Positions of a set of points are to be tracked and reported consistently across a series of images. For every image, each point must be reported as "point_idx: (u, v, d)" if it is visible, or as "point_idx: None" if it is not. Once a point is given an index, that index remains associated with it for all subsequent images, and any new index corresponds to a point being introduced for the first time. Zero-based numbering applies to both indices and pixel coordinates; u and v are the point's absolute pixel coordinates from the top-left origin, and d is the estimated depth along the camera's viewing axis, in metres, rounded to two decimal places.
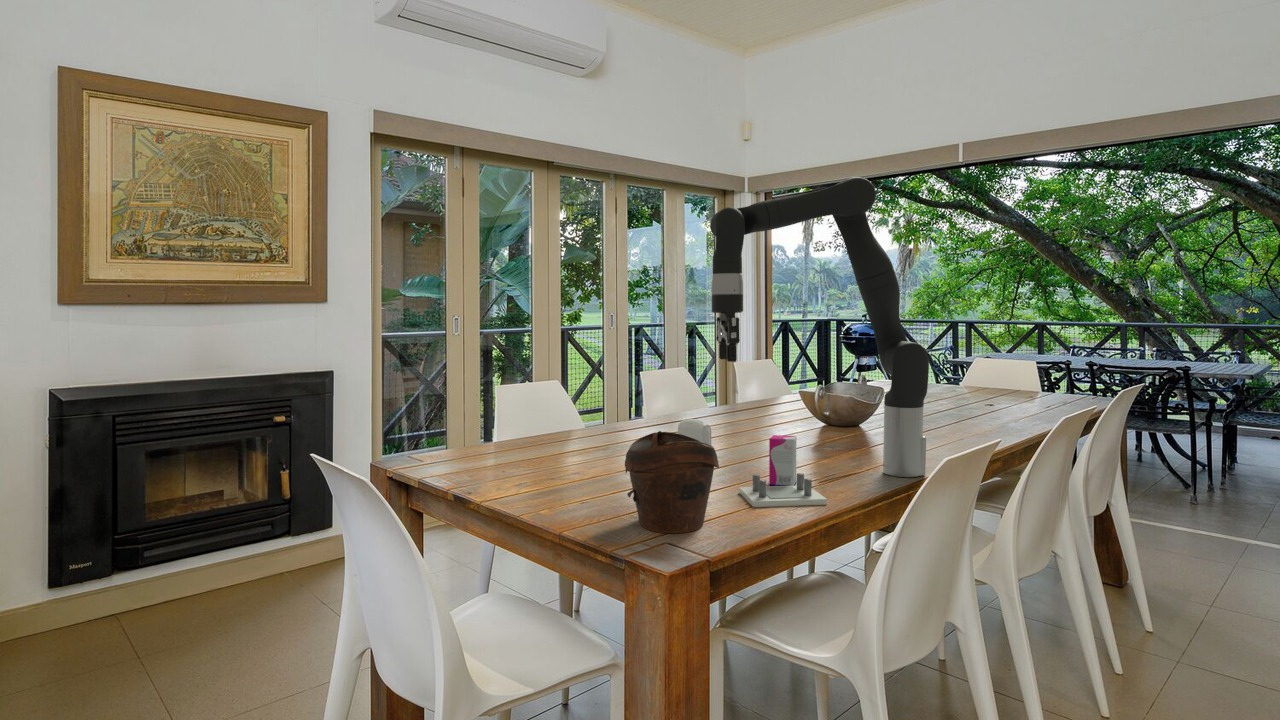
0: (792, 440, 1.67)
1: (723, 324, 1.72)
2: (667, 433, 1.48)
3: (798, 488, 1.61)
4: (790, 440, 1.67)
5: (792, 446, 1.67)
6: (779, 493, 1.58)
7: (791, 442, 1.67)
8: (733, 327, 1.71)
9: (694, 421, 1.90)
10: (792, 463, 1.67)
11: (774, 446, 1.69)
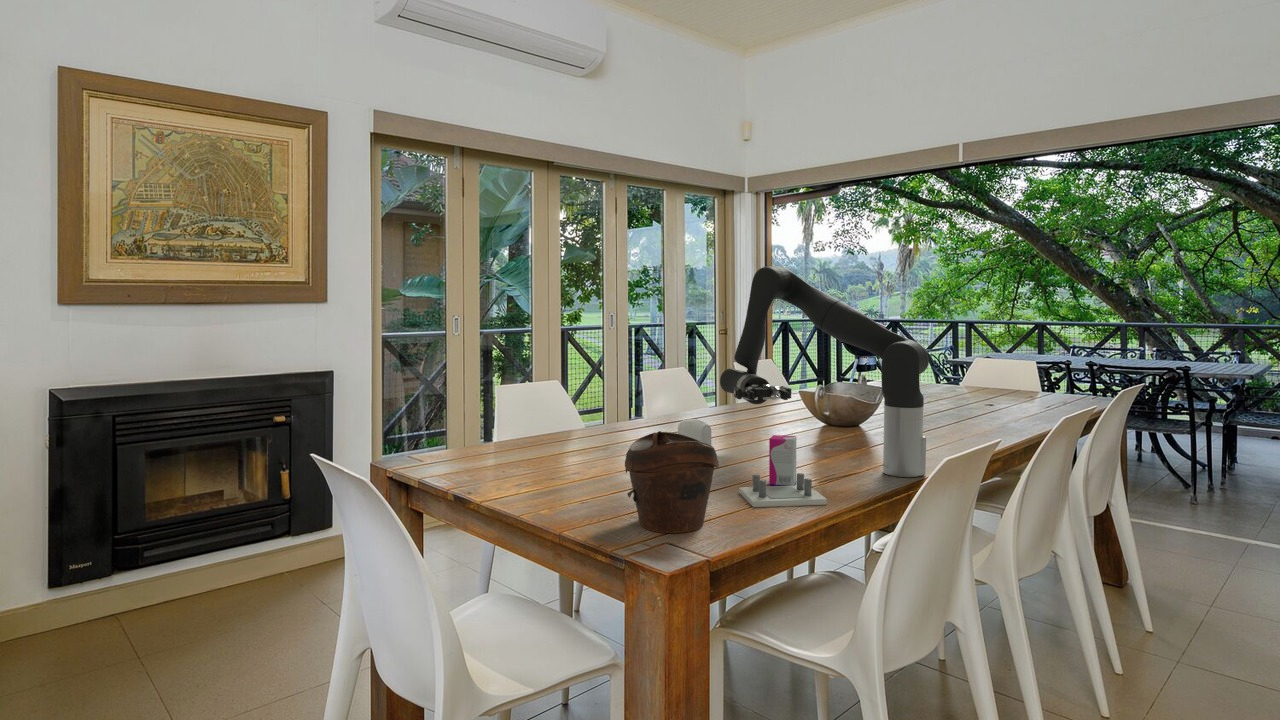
0: (792, 440, 1.67)
1: None
2: (667, 433, 1.48)
3: (798, 488, 1.61)
4: (790, 440, 1.67)
5: (792, 446, 1.67)
6: (779, 493, 1.58)
7: (791, 442, 1.67)
8: None
9: (694, 421, 1.90)
10: (792, 463, 1.67)
11: (774, 446, 1.69)
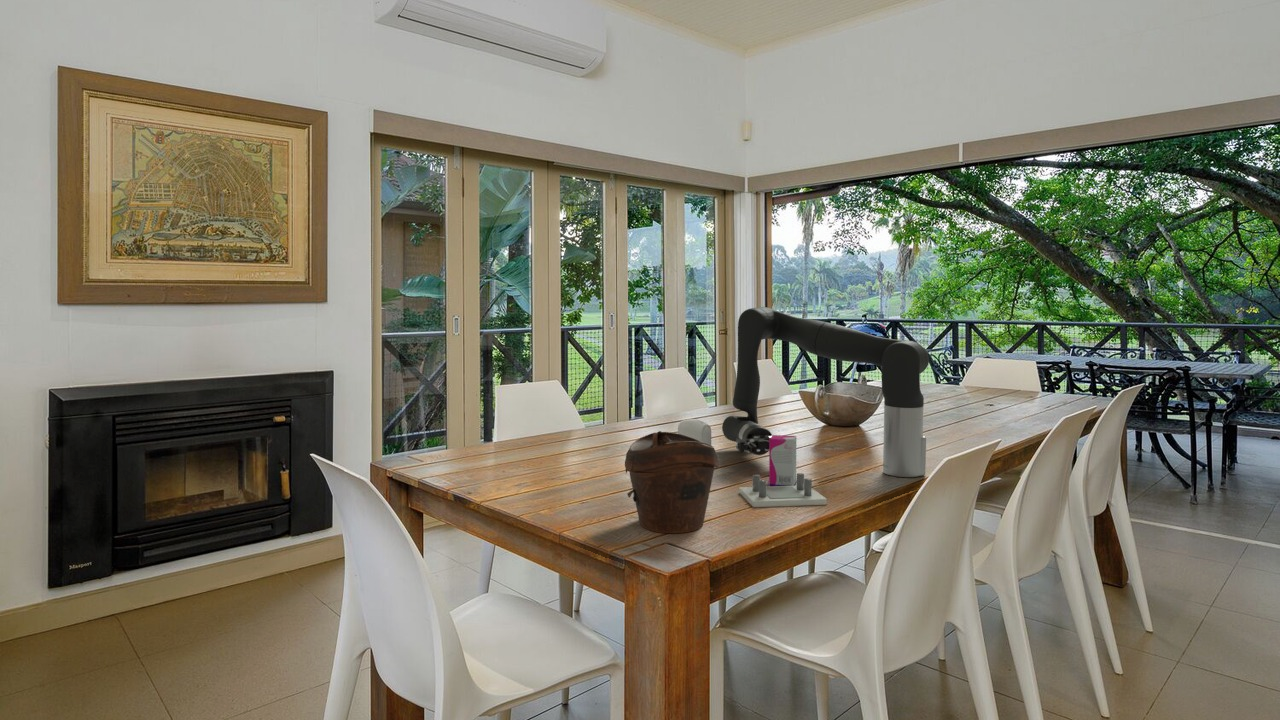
0: (792, 440, 1.67)
1: None
2: (667, 433, 1.48)
3: (798, 488, 1.61)
4: (790, 440, 1.67)
5: (792, 446, 1.67)
6: (779, 493, 1.58)
7: (791, 442, 1.67)
8: None
9: (694, 421, 1.90)
10: (792, 463, 1.67)
11: (774, 446, 1.69)
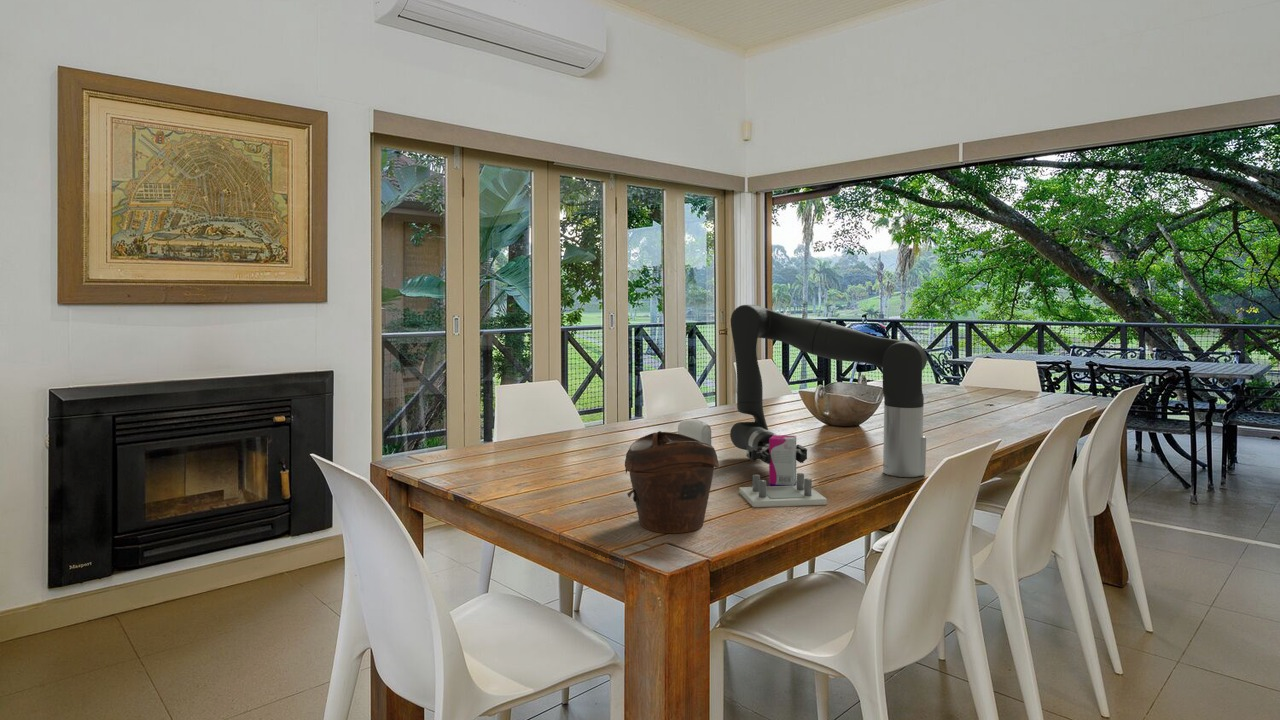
0: (792, 440, 1.67)
1: None
2: (667, 433, 1.48)
3: (798, 488, 1.61)
4: (790, 440, 1.67)
5: (792, 446, 1.67)
6: (779, 493, 1.58)
7: (791, 442, 1.67)
8: (762, 449, 1.76)
9: (694, 421, 1.90)
10: (792, 463, 1.67)
11: (774, 446, 1.69)
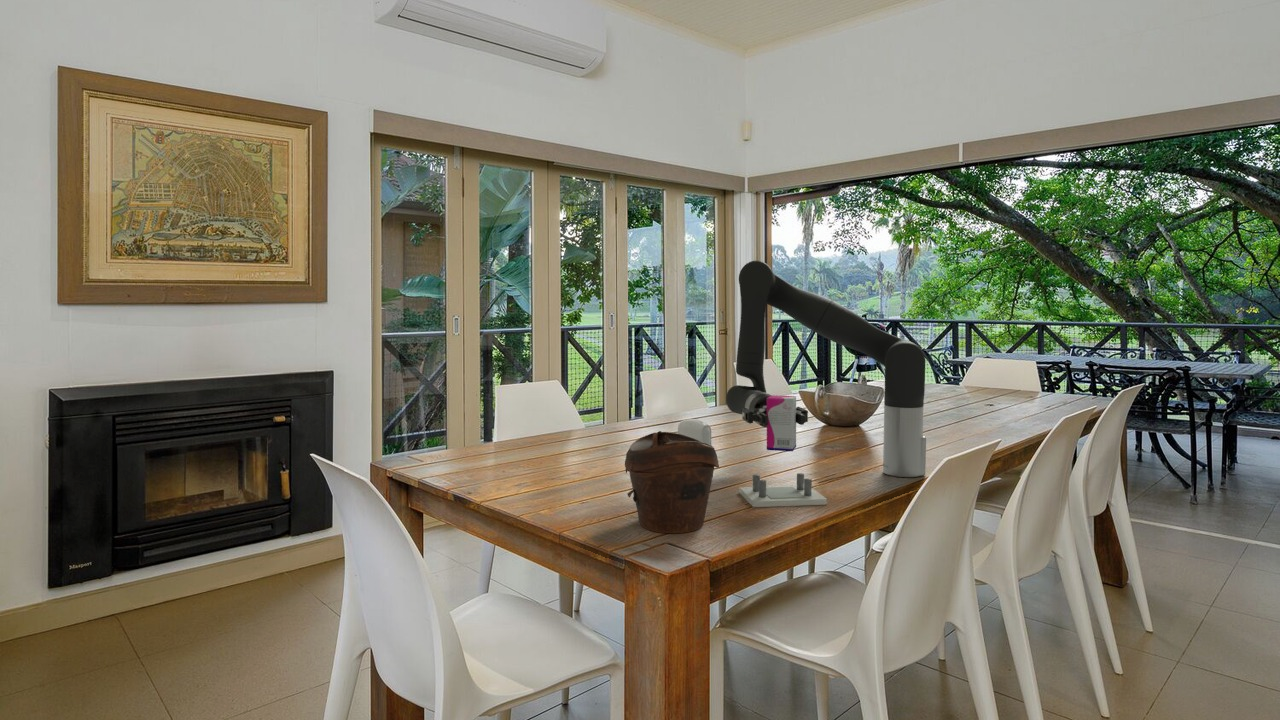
0: (791, 399, 1.54)
1: None
2: (667, 433, 1.48)
3: (798, 488, 1.61)
4: (789, 399, 1.54)
5: (791, 406, 1.54)
6: (779, 493, 1.58)
7: (790, 402, 1.54)
8: (759, 411, 1.63)
9: (694, 421, 1.90)
10: (791, 424, 1.54)
11: (772, 406, 1.56)
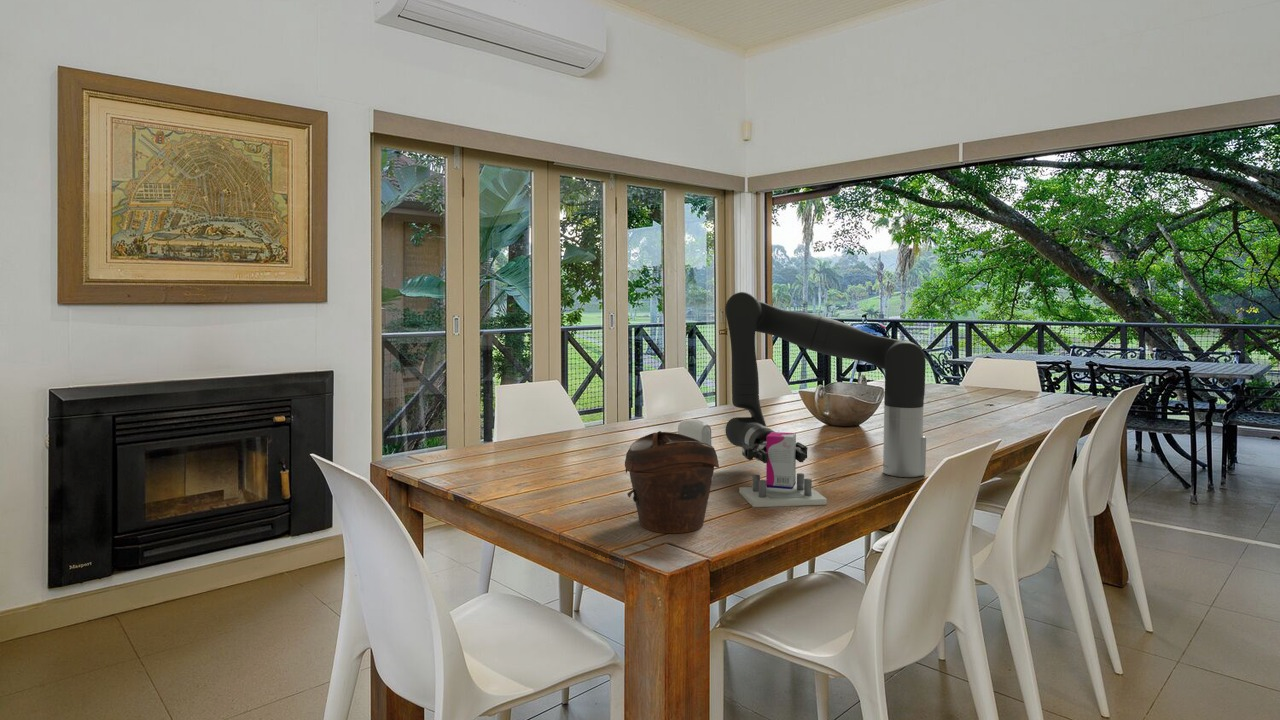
0: (791, 438, 1.55)
1: None
2: (667, 433, 1.48)
3: (798, 488, 1.61)
4: (789, 438, 1.55)
5: (791, 444, 1.55)
6: (779, 493, 1.58)
7: (790, 440, 1.55)
8: (759, 447, 1.64)
9: (694, 421, 1.90)
10: (791, 462, 1.55)
11: (772, 444, 1.56)
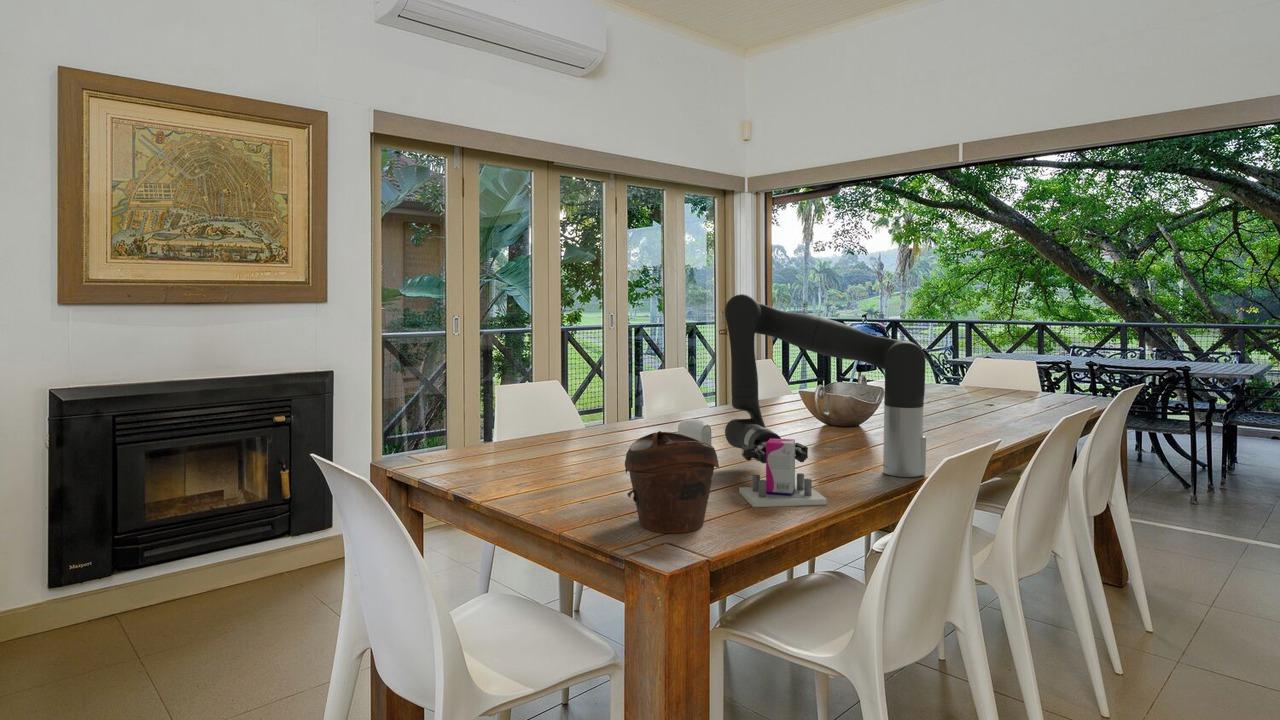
0: (791, 444, 1.55)
1: None
2: (667, 433, 1.48)
3: (798, 488, 1.61)
4: (788, 444, 1.55)
5: (791, 450, 1.55)
6: None
7: (789, 446, 1.55)
8: None
9: (694, 421, 1.90)
10: (791, 469, 1.55)
11: (771, 450, 1.56)
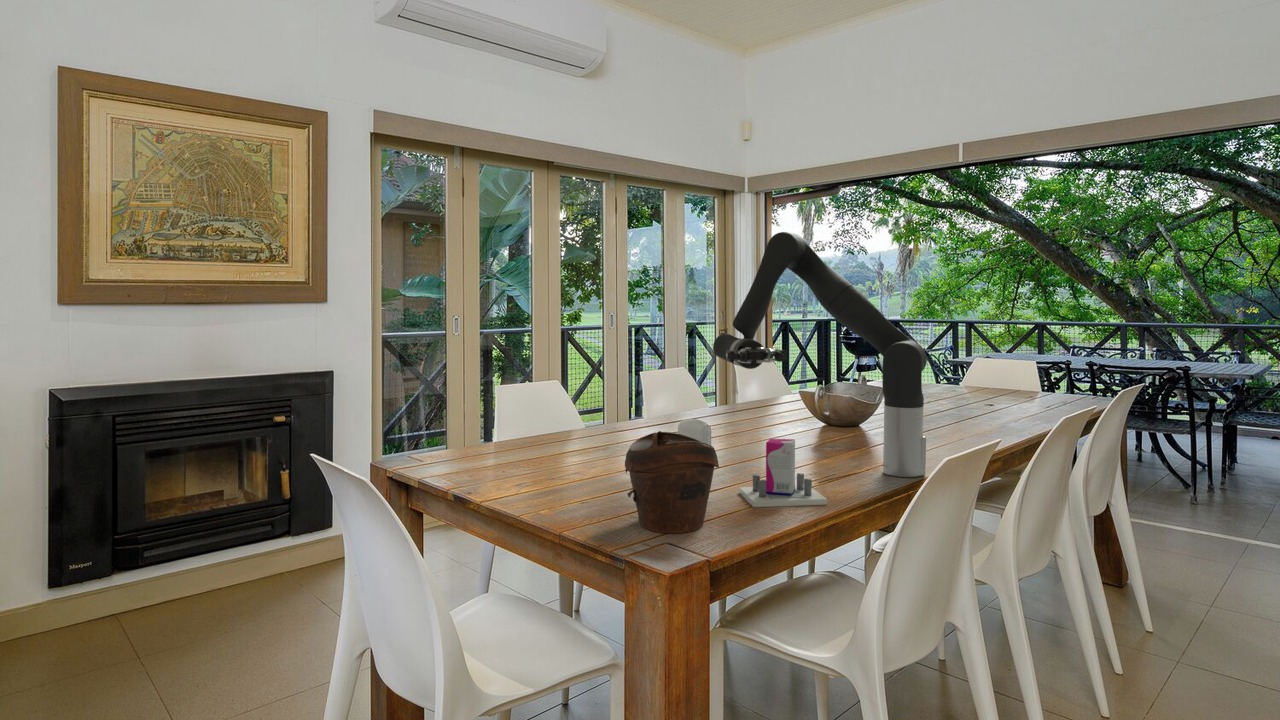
0: (791, 444, 1.55)
1: None
2: (667, 433, 1.48)
3: (798, 488, 1.61)
4: (788, 444, 1.55)
5: (791, 450, 1.55)
6: None
7: (790, 446, 1.55)
8: None
9: (694, 421, 1.90)
10: (791, 469, 1.55)
11: (771, 450, 1.56)
